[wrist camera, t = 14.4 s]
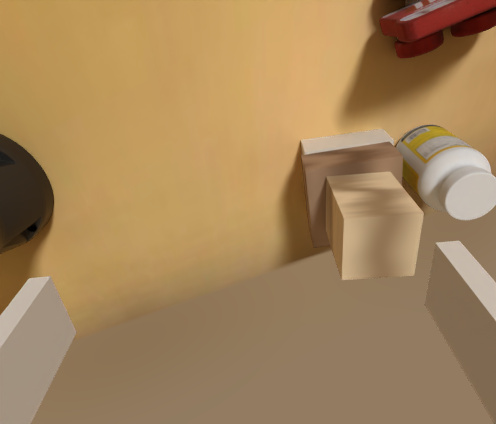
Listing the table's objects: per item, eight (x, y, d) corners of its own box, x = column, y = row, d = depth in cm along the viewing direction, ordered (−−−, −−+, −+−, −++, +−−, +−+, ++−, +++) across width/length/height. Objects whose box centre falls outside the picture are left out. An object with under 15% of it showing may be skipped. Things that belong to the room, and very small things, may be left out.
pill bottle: (417, 187, 45) (464, 241, 35) (379, 155, 43) (418, 203, 33) (462, 145, 42) (528, 192, 32) (425, 110, 40) (482, 147, 30)
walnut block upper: (308, 227, 43) (313, 247, 40) (300, 155, 39) (305, 170, 36) (388, 216, 43) (400, 236, 39) (389, 141, 38) (402, 155, 35)
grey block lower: (306, 208, 47) (310, 225, 43) (300, 139, 42) (304, 151, 39) (380, 199, 46) (390, 215, 43) (381, 127, 42) (393, 139, 38)
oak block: (325, 229, 39) (341, 279, 32) (326, 176, 36) (344, 219, 29) (384, 225, 39) (413, 275, 32) (390, 171, 36) (423, 213, 29)
